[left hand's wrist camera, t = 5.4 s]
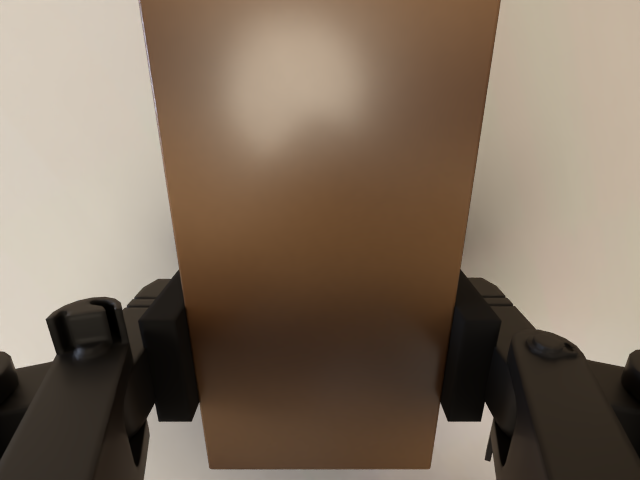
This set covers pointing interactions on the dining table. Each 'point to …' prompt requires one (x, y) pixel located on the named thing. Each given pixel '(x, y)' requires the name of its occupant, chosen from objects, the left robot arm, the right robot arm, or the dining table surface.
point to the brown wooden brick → (319, 215)
